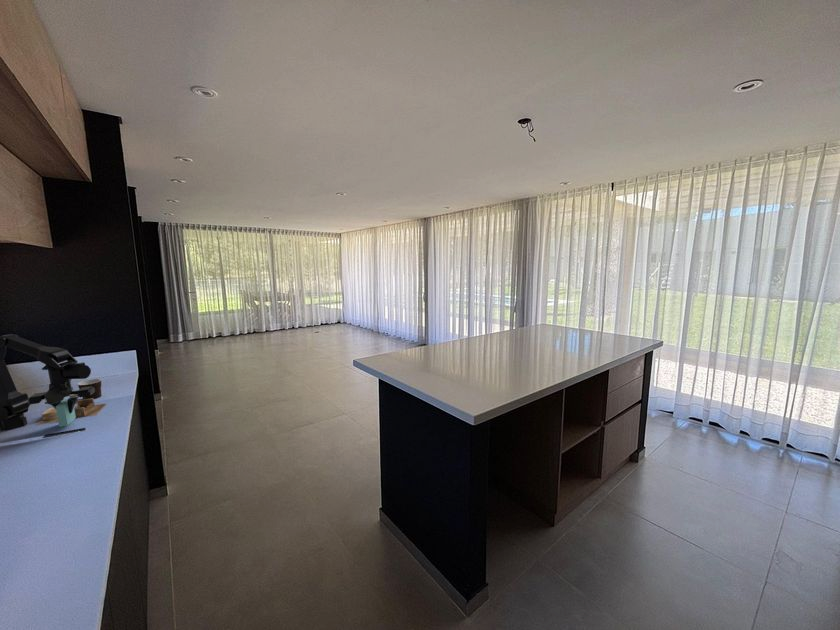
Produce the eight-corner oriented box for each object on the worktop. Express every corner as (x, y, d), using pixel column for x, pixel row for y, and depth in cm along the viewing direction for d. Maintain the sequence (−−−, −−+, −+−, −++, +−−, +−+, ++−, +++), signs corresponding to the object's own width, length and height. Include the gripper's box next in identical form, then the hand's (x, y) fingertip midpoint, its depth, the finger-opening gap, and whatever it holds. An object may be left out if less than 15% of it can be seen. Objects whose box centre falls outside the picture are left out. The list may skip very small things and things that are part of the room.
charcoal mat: (43, 438, 135) (42, 436, 135) (56, 426, 145) (55, 425, 145) (83, 430, 141) (82, 429, 141) (92, 419, 150) (92, 418, 150)
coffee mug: (85, 398, 173) (82, 380, 171) (107, 395, 177) (104, 377, 175) (74, 407, 163) (70, 388, 161) (97, 404, 166) (94, 385, 165)
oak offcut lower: (43, 420, 146) (42, 417, 146) (51, 414, 152) (50, 411, 152) (59, 418, 149) (58, 415, 148) (66, 412, 155) (65, 408, 154)
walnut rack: (35, 428, 143) (32, 416, 142) (50, 414, 155) (48, 403, 154) (97, 418, 152) (95, 406, 151) (107, 406, 164) (105, 395, 163)
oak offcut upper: (42, 417, 146) (41, 414, 146) (49, 411, 152) (49, 408, 152) (57, 415, 149) (57, 411, 148) (64, 408, 155) (64, 405, 154)
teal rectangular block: (59, 426, 138) (55, 406, 137) (67, 418, 145) (64, 399, 144) (67, 425, 139) (64, 405, 138) (75, 417, 146) (72, 398, 145)
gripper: (16, 389, 128) (24, 427, 130) (82, 381, 136) (88, 416, 139) (32, 380, 137) (39, 415, 140) (92, 373, 146) (98, 406, 149)
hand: (66, 413), depth 142 cm, fingers closed on teal rectangular block, 2 cm apart
